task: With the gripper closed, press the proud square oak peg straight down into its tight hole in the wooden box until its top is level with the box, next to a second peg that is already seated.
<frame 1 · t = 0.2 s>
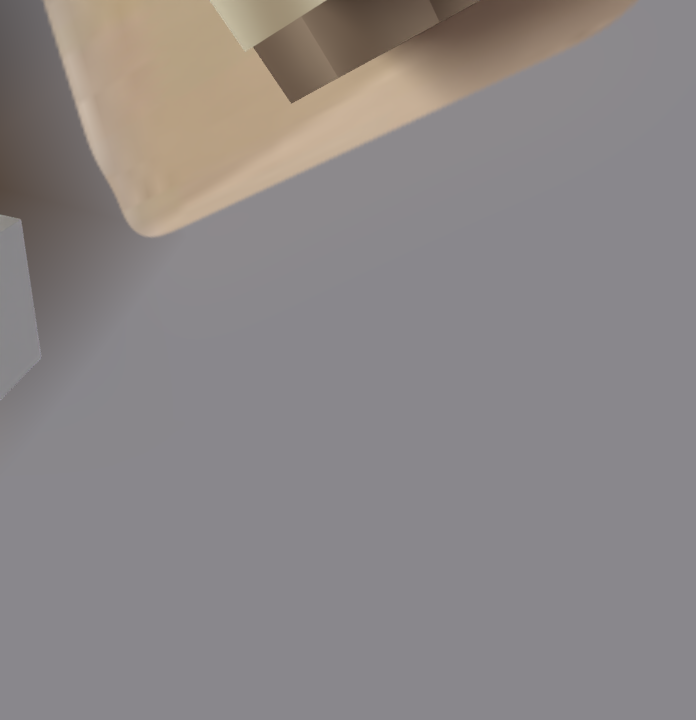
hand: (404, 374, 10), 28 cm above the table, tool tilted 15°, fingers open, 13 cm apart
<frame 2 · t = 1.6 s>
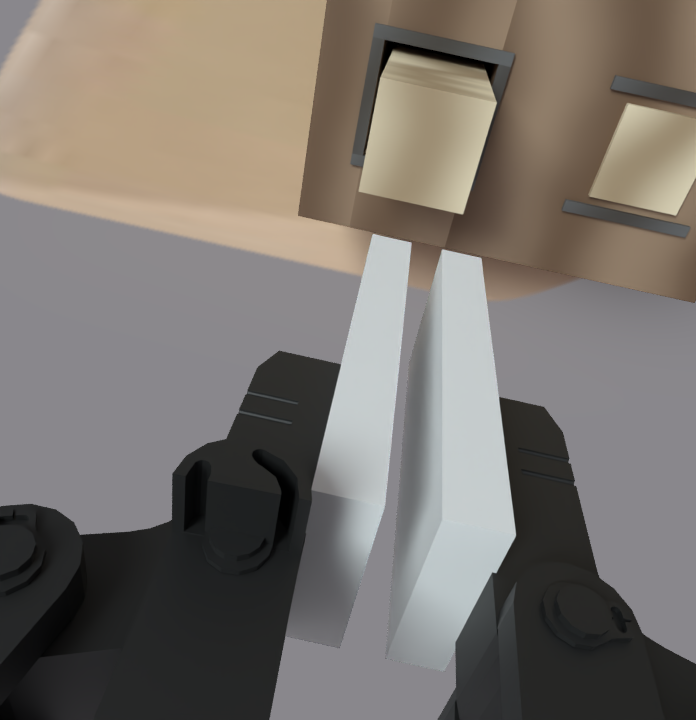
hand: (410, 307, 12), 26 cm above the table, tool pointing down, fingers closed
peg: (426, 122, 25), point 11 cm above the table, slide at 0.0 cm
wooden box: (518, 94, 34), on the table
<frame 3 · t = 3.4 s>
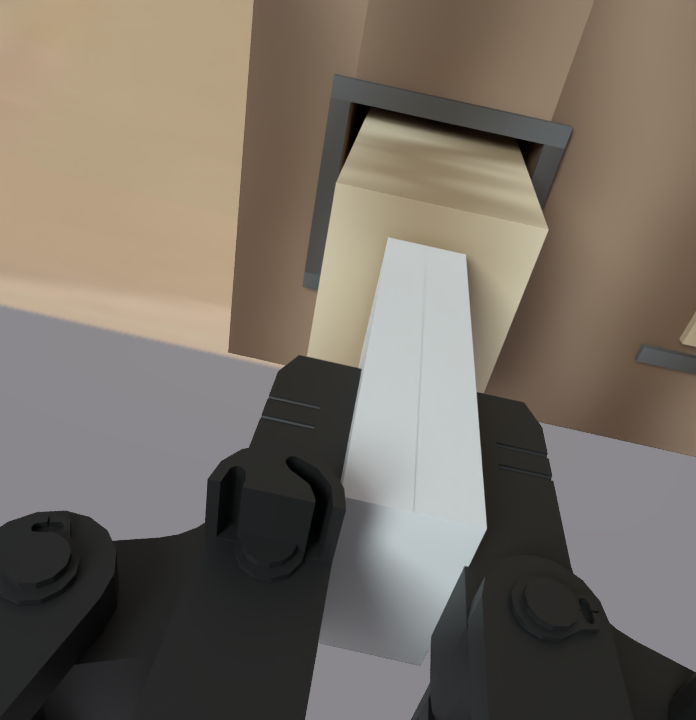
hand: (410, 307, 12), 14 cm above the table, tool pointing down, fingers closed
peg: (422, 224, 15), point 10 cm above the table, slide at 1.2 cm, touching gripper
wooden box: (555, 156, 23), on the table
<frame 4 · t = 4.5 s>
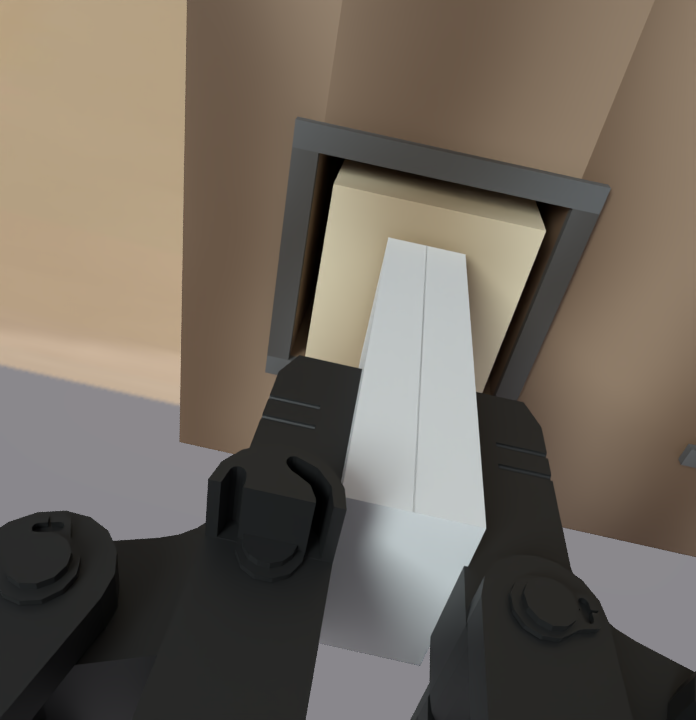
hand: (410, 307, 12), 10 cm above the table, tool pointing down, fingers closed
peg: (420, 225, 15), point 6 cm above the table, slide at 5.5 cm, touching gripper
wooden box: (572, 194, 20), on the table
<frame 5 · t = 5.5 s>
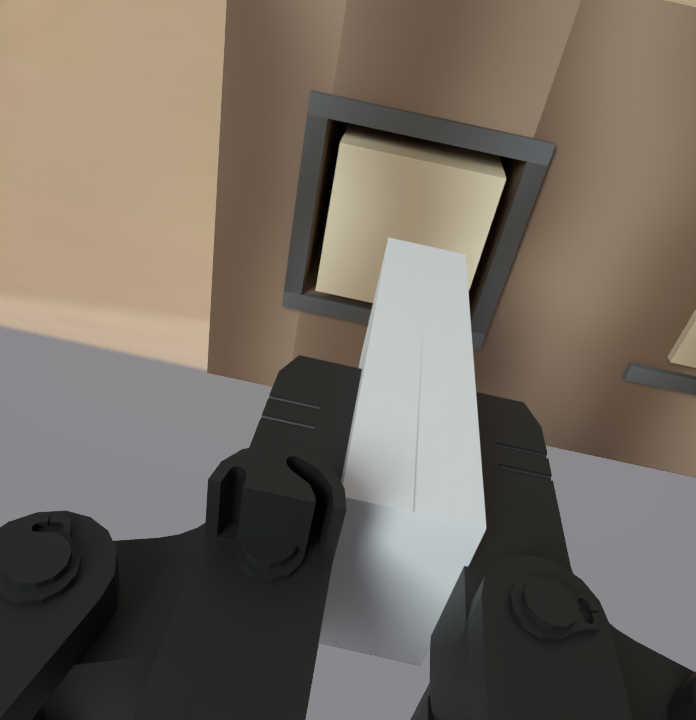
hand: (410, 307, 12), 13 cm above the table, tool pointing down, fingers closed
peg: (409, 187, 19), point 6 cm above the table, slide at 5.5 cm
wooden box: (541, 168, 23), on the table
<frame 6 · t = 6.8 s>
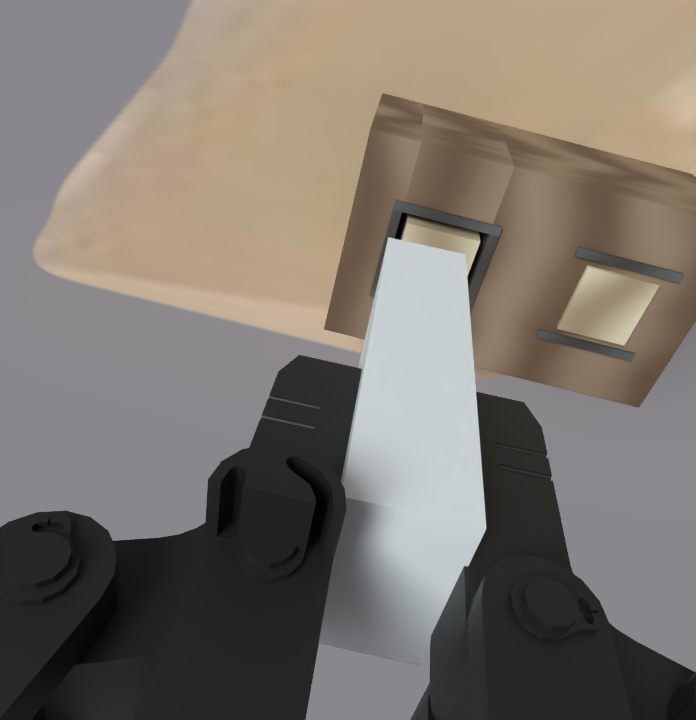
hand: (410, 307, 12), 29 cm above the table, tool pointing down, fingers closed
peg: (432, 237, 36), point 6 cm above the table, slide at 5.5 cm
wooden box: (503, 223, 41), on the table
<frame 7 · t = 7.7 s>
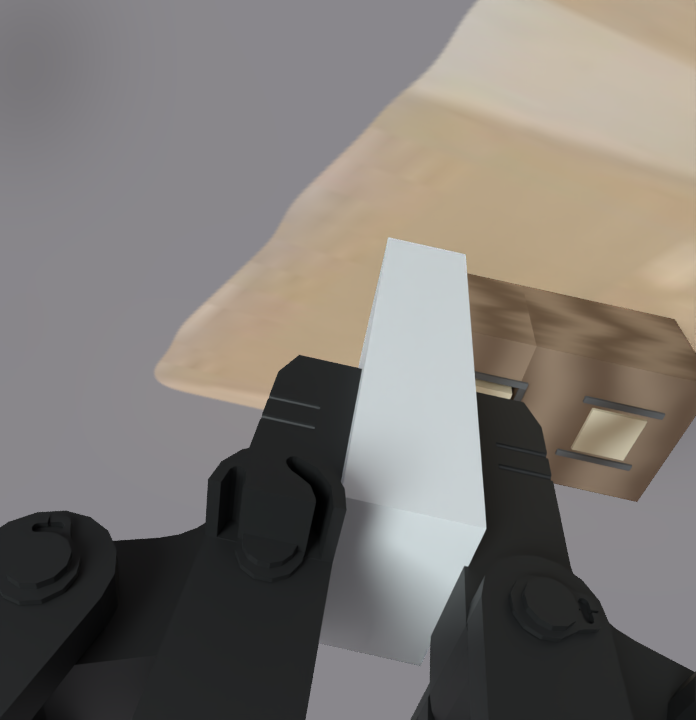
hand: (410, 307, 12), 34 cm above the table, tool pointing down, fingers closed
peg: (474, 377, 48), point 6 cm above the table, slide at 5.5 cm
wooden box: (528, 352, 52), on the table
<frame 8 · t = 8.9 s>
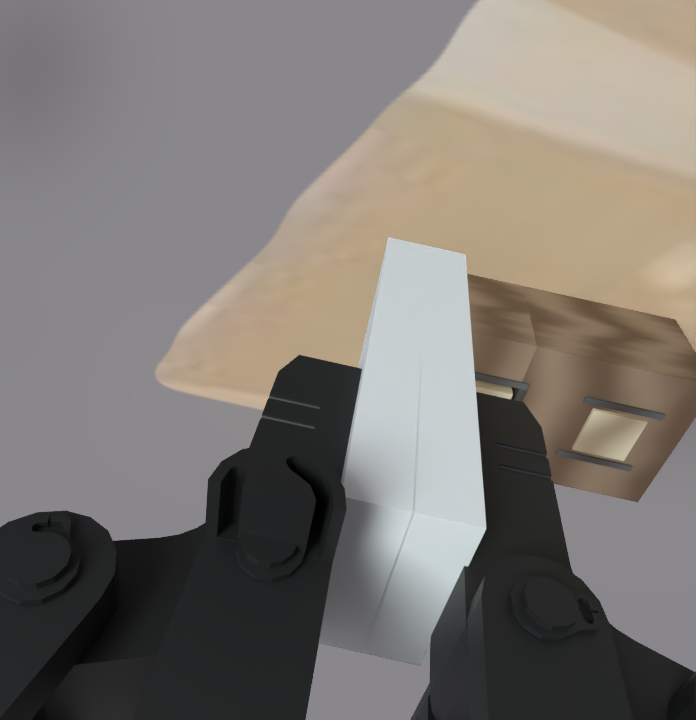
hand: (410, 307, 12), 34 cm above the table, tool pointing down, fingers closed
peg: (474, 377, 48), point 6 cm above the table, slide at 5.5 cm
wooden box: (528, 352, 52), on the table
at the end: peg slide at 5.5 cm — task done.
